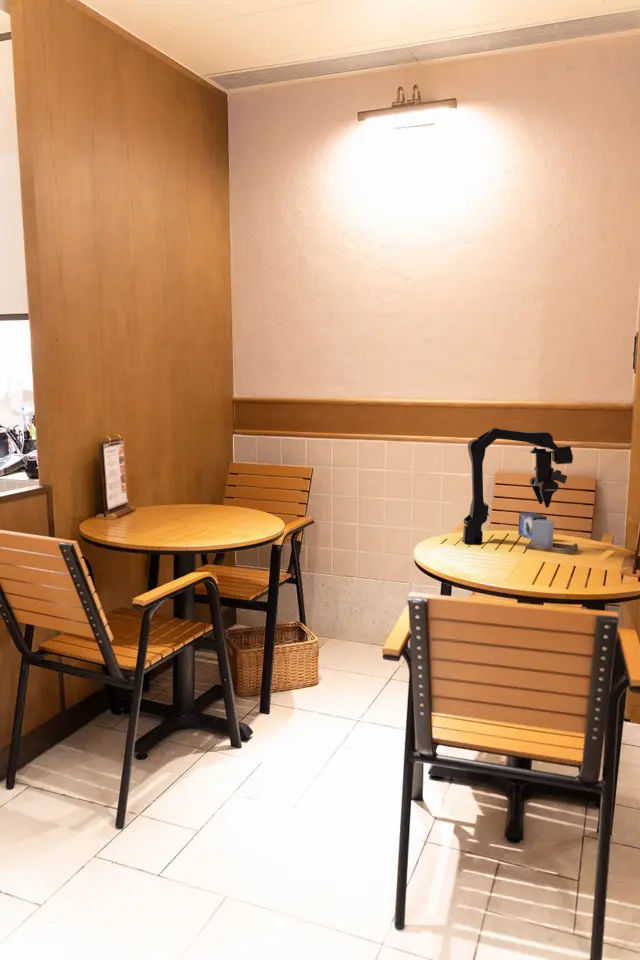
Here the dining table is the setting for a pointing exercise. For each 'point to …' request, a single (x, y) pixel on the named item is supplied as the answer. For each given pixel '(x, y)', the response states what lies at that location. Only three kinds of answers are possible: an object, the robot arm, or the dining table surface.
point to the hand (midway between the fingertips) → (544, 505)
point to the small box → (528, 523)
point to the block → (542, 533)
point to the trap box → (555, 548)
